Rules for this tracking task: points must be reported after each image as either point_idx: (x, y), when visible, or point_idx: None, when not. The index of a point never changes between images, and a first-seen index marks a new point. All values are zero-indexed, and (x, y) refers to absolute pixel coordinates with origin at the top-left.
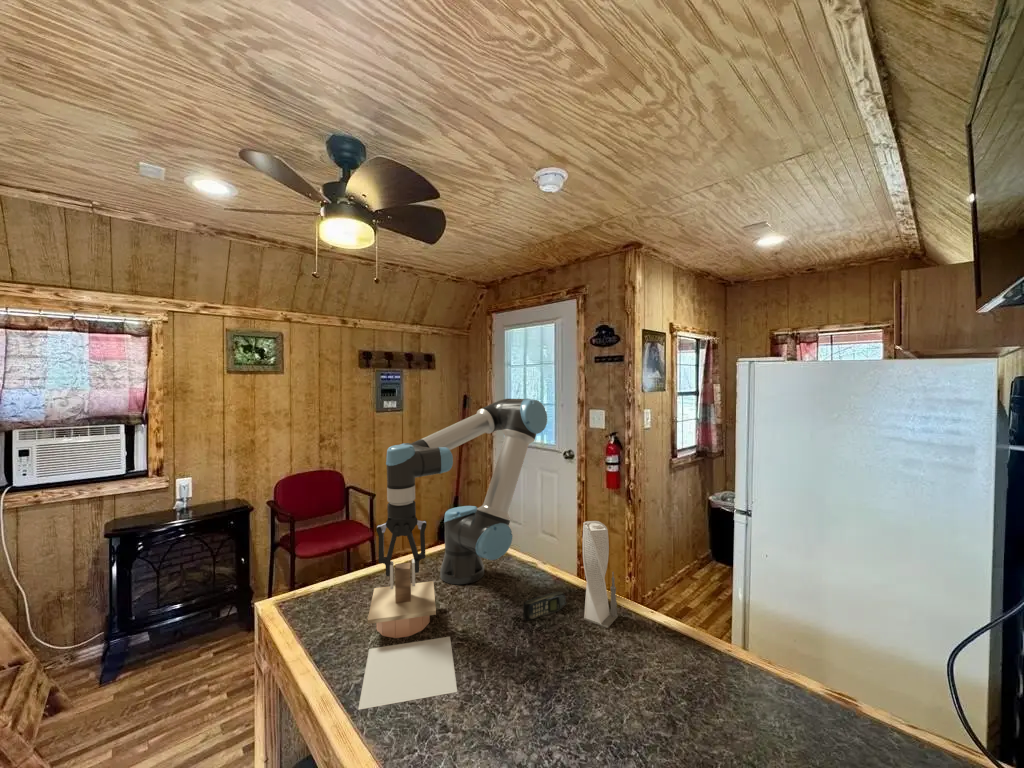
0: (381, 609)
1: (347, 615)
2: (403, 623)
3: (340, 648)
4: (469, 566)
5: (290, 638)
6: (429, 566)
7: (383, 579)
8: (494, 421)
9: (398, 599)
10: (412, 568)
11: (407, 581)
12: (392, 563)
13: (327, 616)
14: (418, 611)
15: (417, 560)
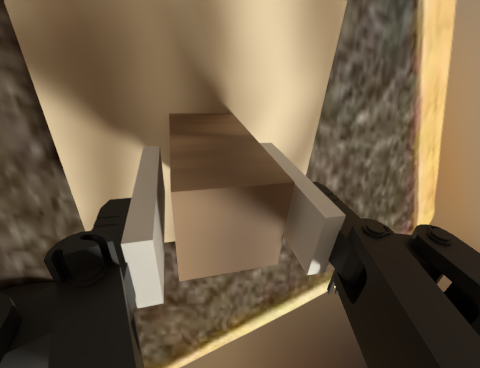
0: (287, 80)
1: (322, 184)
2: None
3: (356, 41)
4: None
5: (427, 122)
6: (150, 338)
7: (246, 296)
8: None
9: (224, 117)
10: (151, 205)
11: (188, 147)
12: (320, 243)
13: (356, 187)
14: None
15: (69, 256)
